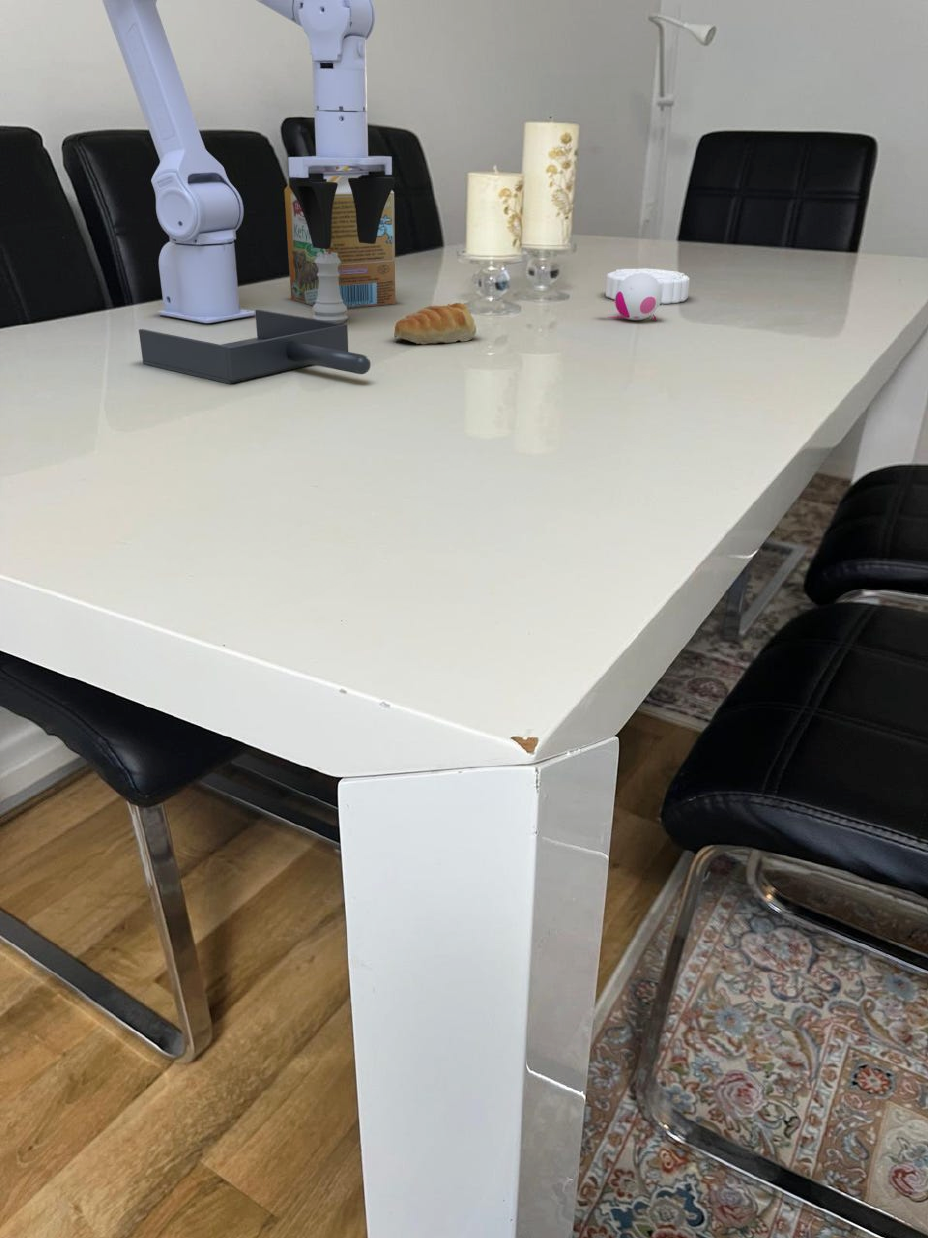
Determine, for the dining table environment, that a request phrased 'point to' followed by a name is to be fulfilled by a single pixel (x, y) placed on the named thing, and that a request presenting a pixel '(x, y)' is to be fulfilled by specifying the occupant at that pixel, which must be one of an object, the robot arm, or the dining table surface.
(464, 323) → the pastry
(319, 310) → the rook chess piece
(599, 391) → the dining table surface
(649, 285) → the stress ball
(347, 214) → the milk carton
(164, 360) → the scoop
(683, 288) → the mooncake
